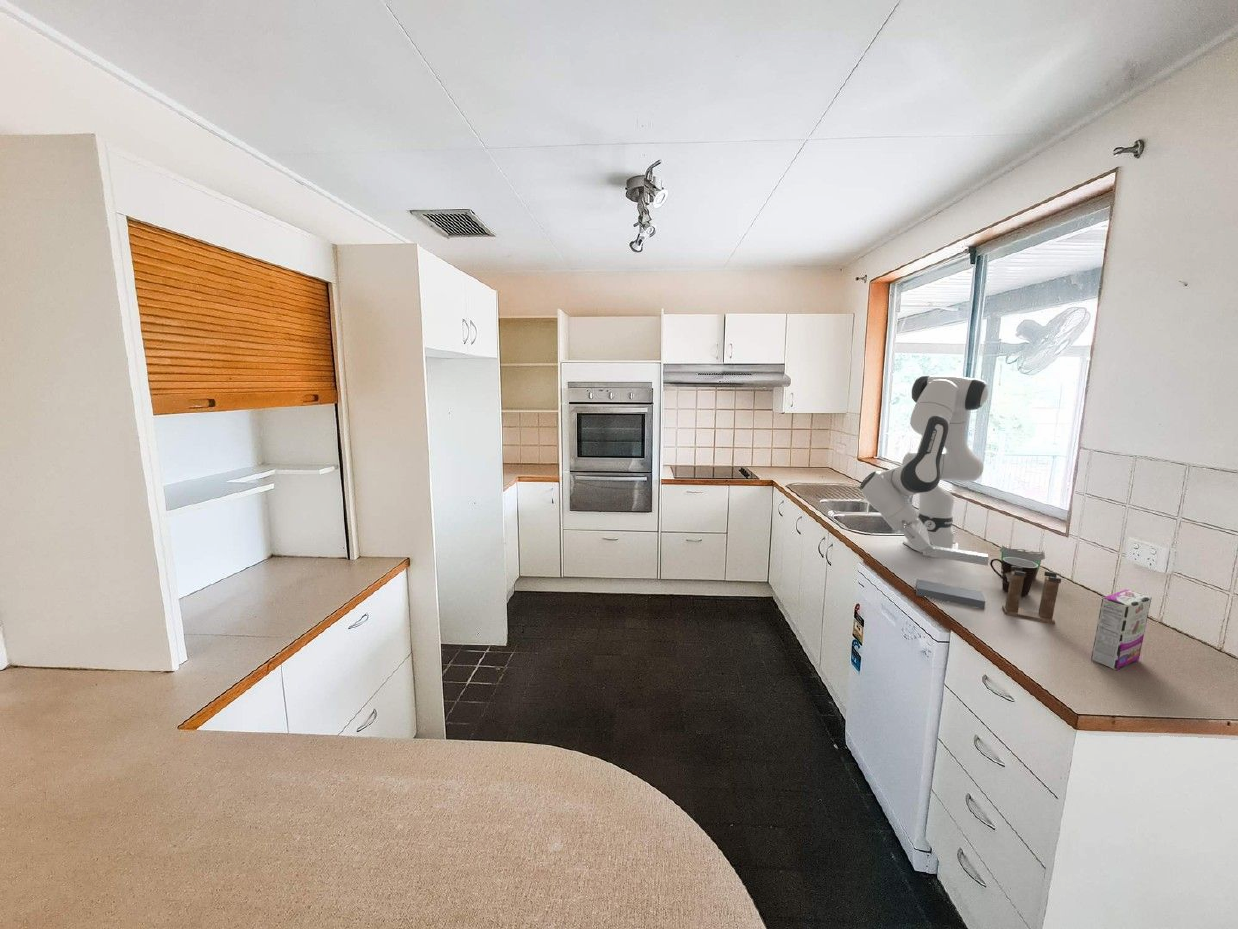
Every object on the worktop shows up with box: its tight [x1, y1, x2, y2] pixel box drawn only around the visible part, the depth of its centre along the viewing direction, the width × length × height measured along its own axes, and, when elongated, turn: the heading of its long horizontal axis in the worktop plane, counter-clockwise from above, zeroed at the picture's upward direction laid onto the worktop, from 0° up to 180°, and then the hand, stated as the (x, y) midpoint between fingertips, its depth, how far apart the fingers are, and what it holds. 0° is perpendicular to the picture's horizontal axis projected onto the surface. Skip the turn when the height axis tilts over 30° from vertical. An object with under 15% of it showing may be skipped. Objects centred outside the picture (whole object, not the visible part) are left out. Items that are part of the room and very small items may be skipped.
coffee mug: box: [989, 557, 1038, 598], centre depth 154 cm, size 12×9×10 cm
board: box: [915, 578, 986, 610], centre depth 149 cm, size 17×8×2 cm, turn 60°
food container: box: [999, 544, 1046, 582], centre depth 163 cm, size 12×6×10 cm, turn 68°
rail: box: [922, 545, 990, 566], centre depth 147 cm, size 16×3×3 cm, turn 60°
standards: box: [1001, 566, 1062, 625], centre depth 137 cm, size 11×5×13 cm, turn 60°
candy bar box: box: [1090, 589, 1153, 671], centre depth 115 cm, size 11×5×16 cm, turn 114°
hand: (935, 553), depth 149 cm, fingers closed on rail, 3 cm apart
